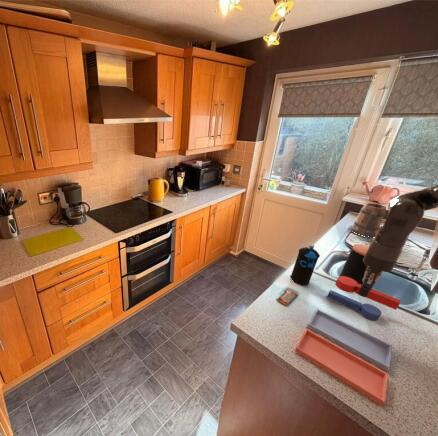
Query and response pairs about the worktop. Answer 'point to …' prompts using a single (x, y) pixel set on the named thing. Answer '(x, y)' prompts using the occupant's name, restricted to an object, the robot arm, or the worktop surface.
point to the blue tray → (352, 339)
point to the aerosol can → (304, 265)
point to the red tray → (344, 366)
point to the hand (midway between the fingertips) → (362, 293)
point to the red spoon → (353, 286)
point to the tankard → (368, 220)
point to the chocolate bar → (287, 297)
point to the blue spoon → (356, 305)
